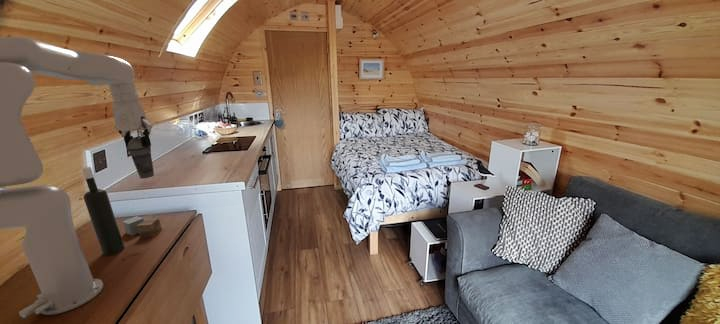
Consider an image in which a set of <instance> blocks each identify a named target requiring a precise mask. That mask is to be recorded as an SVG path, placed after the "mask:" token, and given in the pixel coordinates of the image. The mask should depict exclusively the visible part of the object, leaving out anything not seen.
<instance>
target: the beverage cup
mask: <svg viewBox="0 0 720 324" xmlns="http://www.w3.org/2000/svg"><path fill="white" fill-rule="evenodd" d="M136 132H137V134H136V135H137V137H133V139H131V140H130V141H129V143H128V148H127V151H128V152H129V155H130V157H131V159H132V161H133V163H134V166H135V170H136V171H137V174H138V176H139V179H150V178H152V177H154V176H155V175H154V174H155V172H154V171H155V170H154V166H153V165H154V164H153V159H152V153H151V152H152V149H151V147H152V145H151V146H148V147H143V146H142V143H141V139H140V137H141V136H140V133H139V132H138V130H136Z"/></svg>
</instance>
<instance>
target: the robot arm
mask: <svg viewBox="0 0 720 324" xmlns="http://www.w3.org/2000/svg"><path fill="white" fill-rule="evenodd" d="M33 75H37V76H43V77H49V78H54V79H59V80H66V81H84V82H85V83H87V84H90V85H92V86H99V87H100V86H108V87H109V91H110V94H111V98H112V102H113V104H112V112H113V113H112V114H113V119H114V123H115V126H114V128H115V130H117V132H118V134H119V135H121V137H122V138H123V139H124V140H123V141H124V143H125V147H126V148H127V149H128V143H129V141H130V140H131V139H133V138H134V136H133V135H132V131H137V130H138V132H139V137H140V139H141V143H142V146H143V147H148V146H151V147H152V143H151V139H150V136H151V132H152V129H153V126H154V125H153V124H152V123H150V122H149V121H148V119H147V115H146V112H145V110H144V107H143V105H142V103H141V102H140V99H139V94H138V91H137V87H136V84H135V77H136V73H135V70H134V67H133V66H132V65H131V64H130V63H129V62H127V61H125V60H124V59H122V58H119V57H115V56H111V55H108V54H99V53H93V52H87V51H82V50H81V51H80V50H73V49H68V48H65V47H64V48H63V47H60V46H57V45H54V44H50V43H47V42H43V41H40V40H36V39H32V38H30V37H25V36H3V37H1V36H0V230H5V229H14V228H15V229H16V228H25V232H24V236H23V239H22V243H21V244H22V251H23V253H24V255H25V257H26V259H27V261H28V262H27V263H28V264H29V267H30V268H31V271H32V273H33V275H34V277H35V280H36V283H37V285H38V287H39V289H40V291H41V293H39V294H37V295H36V297H37V299H36V300H35V301H33V302H34V303H31V304H30V305H28V306H27V307H25V308H23V309H22V310H20V311H19V312H18V315H19V316H20V317H21V318H23V319H25V318H27V317H29V316H30V315H32V314H34V313H35V314H36V315H39V314H41V315H44V316H46V315H47V316H53V315H58V314H62V313H66V312H68V311H71V310H73V309H76V308H78V307H80V306H82V305H84V304H87V302H89V301H91V300H92V299H94V298H95V297H96V296H97V295H99V293H100V292H101V291H102V290H103V288H104V283H103V280H101V279H99V278H94V277H93V274H92V272H91V270H90V267H89V265H88V262H87V259H86V256H85V253H84V251H83V248H82V245H81V243H80V239H79V238H78V237H79V236H78V234H77V232H76V231H77V230H76V229H75V225H74V221H73V217H72V205H71V204H72V203H71V199H70V196H69V194H68V192H66V191H65V190H64V189H62V188H60V187H58V186H54V185H31V186H20V187H12V186H19V185H24V184H29V183H32V182H35V181H37V180H39V179H40V178H41V177H42V175H43V174H44V166H43V162H42V160H41V158H40V156H39V154H38V153H37V150H36V148H35V146H34V144H33V142H32V141H31V138H30V136H29V135H28V133H27V131H26V128H25V126H24V123H23V120H22V114H23V109H24V107H25V104H26V103H27V101H28V99H29V98H30V97H31V96H32V94H33V92H34V90H35V86H36V82H35V78H34V76H33ZM10 186H11V188H6V187H10Z"/></svg>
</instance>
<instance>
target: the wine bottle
mask: <svg viewBox="0 0 720 324" xmlns="http://www.w3.org/2000/svg"><path fill="white" fill-rule="evenodd" d="M81 169H82V174H83V176H84V177H83V178H84V179H85V181H86V183H87V184H86V185H87V187H88V191H87V192H86V193H84V195H83V200H84V203H85V207H86V209H87V212H88V215H89V217H90V220H91V223H92V226H93V229H94V232H95V235H96V238H97V241H98V244H99V246H100V250H101V252H102V254H103V256H106V257H108V256H113V255H116V254H119V253H120V252H122V251H123V250H125V245H124V242H123V239H122V236H121V233H120V230H119V226H118V223H117V220H116V217H115V214H114V211H113V208H112V204H111V200H110V198H109V195H108V192H107V191H106V190H105V189H99V188H98V187H97V183H96V180H95V176H94V173H93V170H92V168H91V166H85V167H82V168H81Z"/></svg>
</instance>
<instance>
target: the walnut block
mask: <svg viewBox="0 0 720 324" xmlns="http://www.w3.org/2000/svg"><path fill="white" fill-rule="evenodd" d="M160 221H161V220H160V218H159V217H158V218H147V219H144V221H143V222H141V223H140V224H138V225H137V228H138V232H139V233H138V235H139V237H141V238H150V237H149V236H153V237H155V236H156V235H158V234H159V233H160V232H161V231H163V229H162V225H161V222H160ZM159 231H160V232H159ZM158 232H159V233H158ZM157 233H158V234H157Z"/></svg>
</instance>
